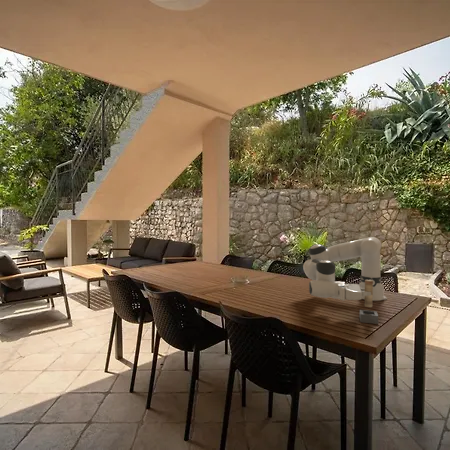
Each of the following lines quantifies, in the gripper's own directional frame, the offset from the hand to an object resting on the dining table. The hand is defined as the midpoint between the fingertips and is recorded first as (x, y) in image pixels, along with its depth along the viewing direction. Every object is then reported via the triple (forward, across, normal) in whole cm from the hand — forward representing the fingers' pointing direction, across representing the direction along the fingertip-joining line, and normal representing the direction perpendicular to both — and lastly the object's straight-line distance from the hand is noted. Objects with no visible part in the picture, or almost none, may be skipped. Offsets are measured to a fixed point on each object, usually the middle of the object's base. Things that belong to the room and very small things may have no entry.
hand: (370, 292), depth 161 cm
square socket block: (-1, 0, -14) cm, 14 cm away
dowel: (-1, 0, -7) cm, 7 cm away
